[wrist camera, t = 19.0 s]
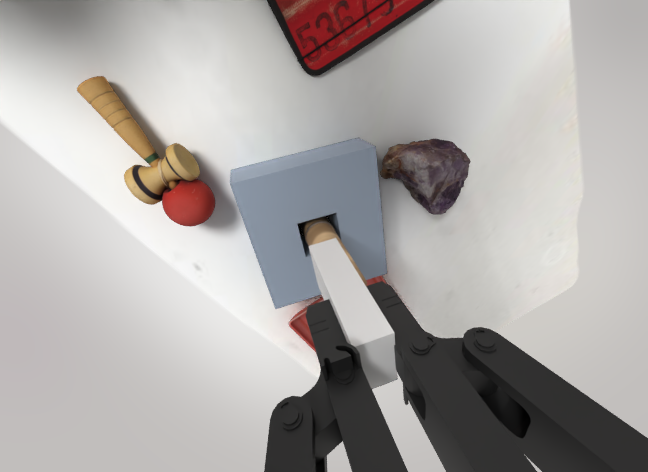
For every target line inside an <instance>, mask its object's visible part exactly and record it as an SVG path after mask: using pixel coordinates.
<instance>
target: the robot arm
mask: <svg viewBox="0 0 648 472" xmlns="http://www.w3.org/2000/svg"><path fill="white" fill-rule="evenodd" d="M309 250H310V254H311V258H312V262H313V267H314V271H315V275H316V279H317V283H318V286H319V289H320V291H321V294H322V296H323V299H324V301H322V302H319V303H316V304H313V305H310V306H308V307H307V311H306V319H307V323H308V326H309V329H310V333H311V336H312V340H313V343H314V346H315V350H316V353H317V356H318V360H319V363H320V367H321V372H320V377H319V380H318V381H317V383H316V385H315V386H314V387H313V388H312V389H311V390H310V391H308V392H307V393H306V394H305V395H303V396H302V397H298V396H291V397H288V398H285V399H284V400H282V401H281V402H280V403H278V404H277V406H276V407H275V409H274V410H273V412H272V416H271V419H270V427H269V435H268V444H267V453H266V462H265V471H264V472H327V454H329V453H330V452H331V451H332V450H333V449H334V448H335V447H336V446H337V445H339V444H340V443H341V442H342V441H343V443H344V446H345V449H346V452H347V456H348V459H349V463H350V466H351V469H352V472H408V471H407V468H406V466H405V464H404V462H403V459H402V457H401V455H400V453H399V450H398V448H397V446H396V444H395V441H394V439H393V437H392V434H391V432H390V430H389V428H388V425H387V423H386V421H385V419H384V416H383V414H382V412H381V409H380V407H379V405H378V403H377V401H376V398H375V396H374V394H373V392H372V389H373V388H376V387H379V386H381V385H384V384H387V383H389V382H392V381H394V380H397V372H398V374H399V376H400V378H401V380H402V382H403V393H404V401H405V404H406V405H407V404H408V400H409V402H410V404H411V406H412V408H413V410H414V412H415V413H416V415H417V417H418V419H419V421H420V423H421V424H422V427H423V428H424V430H425V432H426V434H427V436H428V438H429V440H430V442H431V444H432V445H433V447H434V449H435V451H436V453H437V455H438V457H439V459H440V461H441V462H442V464H443V466H444V468H445V470H446V472H537V471H536V470H535V468H534V467H533V466H532V464H531V463H530V462H529V460H528V459H527V458H526V456H527V457H528V458H529V459H530V460H531V461H532V462H533V463H534V464H535V465H536V466H537V467H538V468H539V469H540V470H541V471H542V472H648V438H647V437H645V436H644V435H642V434H641V433H639V432H638V431H637V430H635V429H634V428H632V427H631V426H629V425H628V424H627V423H625V422H624V421H622V420H621V419H619V418H618V417H617V416H615V415H613V414H612V413H611V412H609V411H608V410H607V409H605V408H604V407H602V406H601V405H599V404H598V403H597V402H595V401H594V400H592V399H591V398H589V397H588V396H587V395H585V394H584V393H582V392H580V391H579V390H578V389H577V388H575V387H574V386H572V385H571V384H569V383H568V382H566V381H565V380H563V379H562V378H561V377H559V376H558V375H557V374H555V373H554V372H552V371H551V370H549V369H548V368H546V367H545V366H544V365H542V364H541V363H539V362H538V361H537V360H535V359H534V358H532V357H531V356H529V355H528V354H526V353H525V352H524V351H522V350H521V349H519V348H518V347H517V346H515V345H514V344H512V343H511V342H509V341H508V340H507V339H505V338H504V337H502V336H501V335H499V334H498V333H496V332H494V331H492V330H490V329H487V328H482V327H478V328H472V329H470V330H468V331H467V332H466V333H465V334H464V338H448V339H446V338H438V337H434V336H433V335H432V334H430V333H427V332H425V331H424V330H423V329H422V328H421V327H420V325H419V324H418V323H417V321H416V320H415V318H414V317H413V316H412V314H411V313H410V312H409V310H408V309H407V307H406V306H405V305H404V303H402V301H401V299H400V298H399V297H398V296H397V294H396V292H395V291H394V290H393V288H392V287H391V286H389V285H388V284H386V283H384V282H383V281H380V282H377V283H374V284H371V285H368V286H365V284H364V282H363V281H362V279H361V278H360V276H359V274H358V273H357V271H356V269H355V268H354V266H353V265H352V263H351V261H350V260H349V258H348V256H347V255H346V253H345V252H344V250H343V248H342V247H341V245H340V243H339V242H338V240H337V239H336V238H334V239H330V240H327V241H324V242H320V243H317V244H314V245H310V246H309ZM524 454H525V455H526V456H525V455H524Z"/></svg>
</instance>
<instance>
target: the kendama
mask: <svg viewBox="0 0 648 472" xmlns="http://www.w3.org/2000/svg"><path fill="white" fill-rule="evenodd" d="M77 91H78V92H79V93H80V94H81V95H82V96H83V97H84V98H85V99H86V100H87V101H88V103H89V104H91V105H92V107H93V108H94V109H95V110H96V111H97V112H98V113H99V114H100V115H101V116H102V117H103V118H104V119H105V120H106V121H107V123H108V124H109V125H110V126H111V127H112V128H114V130H115V131H116V132H117V133H118V134H119V136H120V137H121V138H122V139H123V140H124V141H125V142H126V143H127V144H128V145H129V146H130V147H131V148H132V149H133V150H134V151H136V152H137V153H138V154H139V155H140V156H141V157H142V158H143V159H144V160H145V161H146V162H147V163H149V165H150V166H151V167H145V166H142V165H134V166H132V167H131V168H129V169H128V170H127V171H126V172H125V174H124V179H125V182H126V185H127V187H128V188H129V190H130V191H131V192H132V194H133V195H134V196H135V197H137V198H138V199H139V200H141V201H142V202H144V203H147V204H156V203H158V202H160V201H162V204H163V208H164V211H165V213H166V214H167V216H168V217H169V218H170V219H171V220H173V221H174V222H176V223H178V224H180V225H183V226H196V225H199V224H201V223H203V222H205V221H206V220H207V219H209V217H210V216H211V215H212V213H213V211H214V208H215V198H214V195H213V192H212V191H211V189H210V188H209V187H208V186H207V185H206V184H205V183H203V182H202V181H200V180H198V179H196V178H197V177H198V176H199V175H200V170H199V166H198V164H197V162H196V160H195V159H194V157H193V156H192V155H191V153H190V152H189V151H188V150H187V149H186V148H185V147H183V146H182V145H180V144H177V143H175V144H172V145H170V146H168V147H167V149H166V153H165V157H164V159H160V158H159V156H158V154H157V153H156V151H155V150H154V148H153V146H152V145H151V143H150V141H149V140H148V138H147V137H146V135H145V134H144V132H143V131H142V129H141V128H140V126H139V125H138V124H137V122H136V121H135V120H134V119H133V118H132V115H131V114H130V113H129V111H128V110H127V109H126V107H125V106H124V104H123V103H122V102H121V100H120V99H119V97H118V96H117V95H116V93H114V90H113V89H112V87H111V86H110V84H109V83H108V81H107V80H106V79H105V77H103V76H97V77H93V78H90V79H88V80H85V81H84V82H82V83H81V84H80V85H79V86H78V88H77Z"/></svg>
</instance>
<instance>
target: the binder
mask: <svg viewBox="0 0 648 472" xmlns="http://www.w3.org/2000/svg"><path fill="white" fill-rule="evenodd" d="M267 1H268V3H269V5H270V7H271V9H272V11H273V13H274V15H275V17H276V19H277V21H278V23H279V25H280V27H281V29H282V31H283V33H284V35H285V37H286V39H287V40H288V42H289V44H290V46H291V48H292V49H293V51H294V53H295V55H296V57H297V59H298V62H299V63H300V64H301V66H302V68H303V69H304V70H305V71H306V72H307V73H308V74H310V75H320V74H322V73H324V72H326V71H327V70H329V69H331V68H332V67H334V66H335V65H337V64H338V63H340V62H342V61H343V60H345V59H346V58H348V57H349V56H351V55H353V54H354V53H356V52H357V51H359V50H360V49H362V48H363V47H365V46H366V45H368V44H369V43H371V42H372V41H374V40H375V39H377V38H378V37H380V36H381V35H383V34H384V33H386V32H388V31H389V30H391V29H392V28H394V27H395V26H397V25H398V24H400V23H401V22H403V21H404V20H406V19H407V18H409V17H410V16H412V15H413V14H415V13H416V12H418V11H419V10H421V9H422V8H424V7H425V6H427V5H428V4H430V3H431V2H433V1H434V0H267Z"/></svg>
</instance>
